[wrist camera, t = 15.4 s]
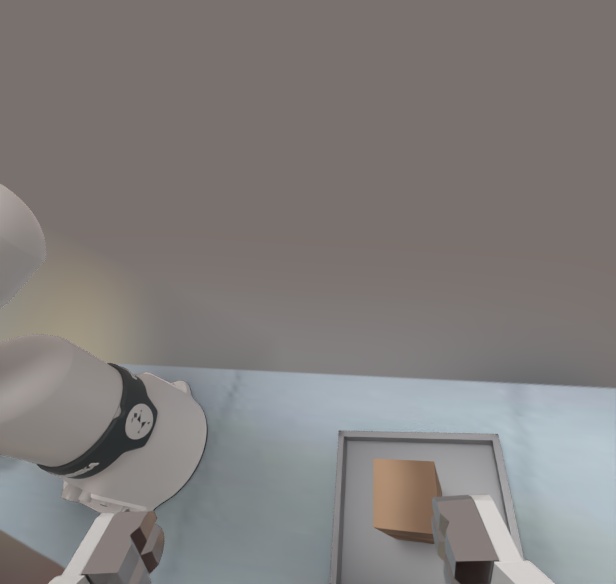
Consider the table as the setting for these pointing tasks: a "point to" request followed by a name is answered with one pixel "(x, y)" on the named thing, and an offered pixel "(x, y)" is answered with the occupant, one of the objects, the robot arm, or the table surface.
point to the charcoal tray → (359, 501)
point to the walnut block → (404, 498)
